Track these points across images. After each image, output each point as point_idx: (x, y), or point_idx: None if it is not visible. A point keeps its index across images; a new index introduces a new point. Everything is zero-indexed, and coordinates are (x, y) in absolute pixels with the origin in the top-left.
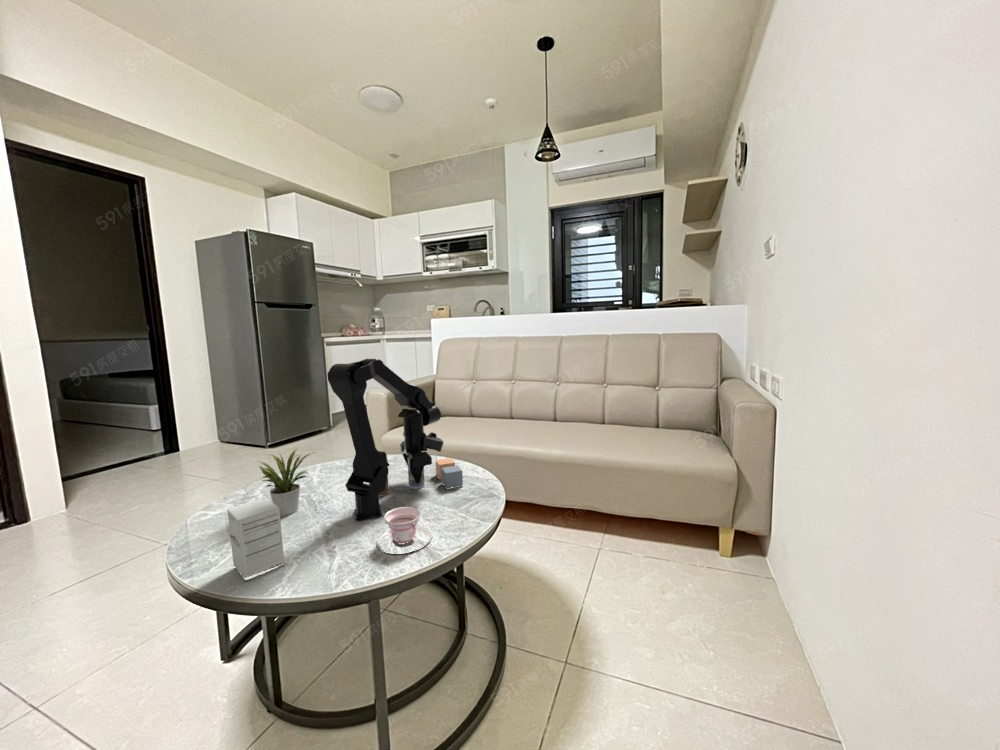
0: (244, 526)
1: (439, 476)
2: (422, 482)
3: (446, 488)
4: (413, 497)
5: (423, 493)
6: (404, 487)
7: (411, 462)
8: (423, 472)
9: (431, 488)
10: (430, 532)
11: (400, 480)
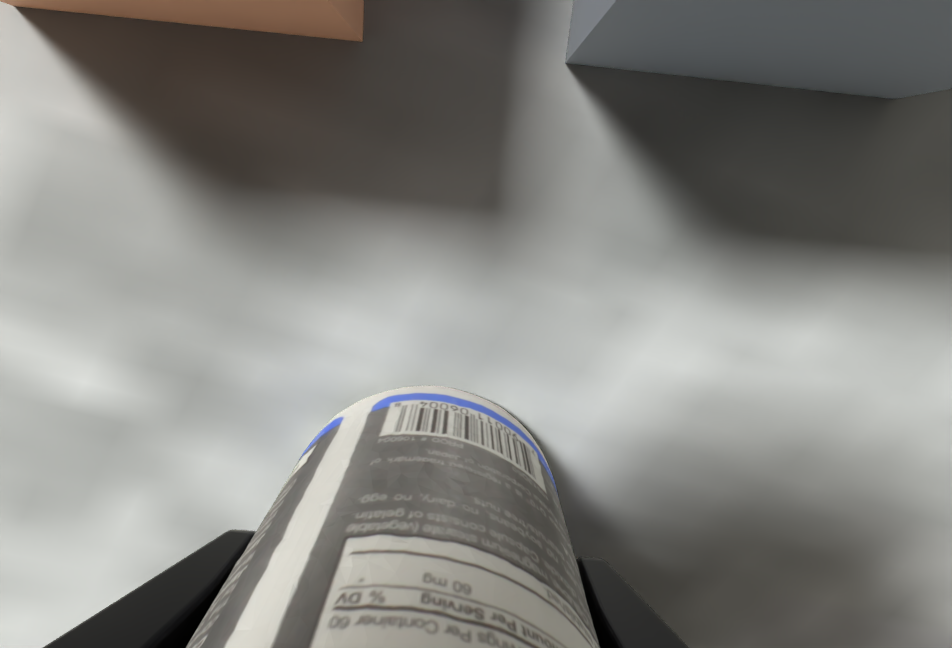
0: None
1: (302, 17)
2: (551, 487)
3: (901, 96)
4: (806, 629)
5: (774, 491)
6: None
7: None
8: (544, 603)
9: (669, 330)
10: None
11: None
